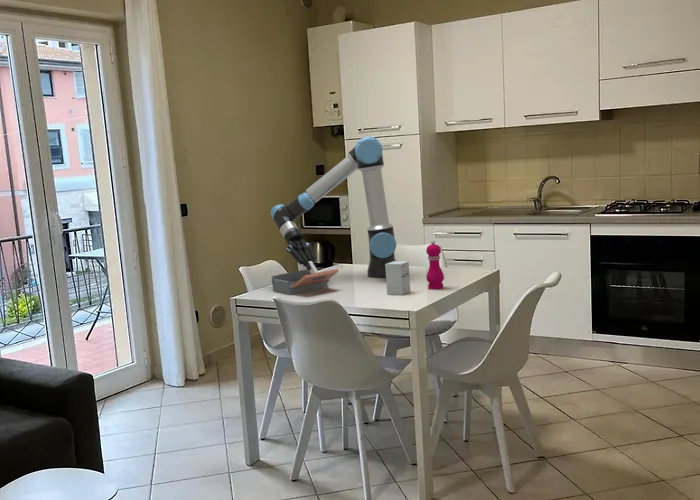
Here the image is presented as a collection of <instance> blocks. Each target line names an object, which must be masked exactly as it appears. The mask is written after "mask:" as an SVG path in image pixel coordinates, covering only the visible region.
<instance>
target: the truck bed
mask: <svg viewBox="0 0 700 500" xmlns="http://www.w3.org/2000/svg"><path fill="white" fill-rule="evenodd" d="M309 274H311V272H310V271H309V270H308V269H306V270H300V271H299V270H296V271H291V272H286V273H278V274H275V275H271V284H272V285H271V286H272V292H273V291H274V293H279V294H284V295H288V296H291V295H296V294H301V293H305V292H310V291H311V292H312V291H314V290H315V291H316V290H319V289H320V290H321V289H323V288H324V289H325V288H329V286H328V285H329V284H328V282H330V279H328V280H327V281H326V282H322V283H317V284H312V285H307V286H303V287H298V288H293V287H292V286H293V285H294V284H295V283H296V282H297V281H299V280H300V279H301V278H302V277H303V276H305V275H309Z"/></svg>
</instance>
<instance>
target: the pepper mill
mask: <svg viewBox="0 0 700 500" xmlns="http://www.w3.org/2000/svg"><path fill="white" fill-rule="evenodd" d="M441 252H442V249H441V246H440V245H439V244H436V240H433V239H432V240H431V242H430V244H429V245H428V246H427V247H426V254H427V255H428V256H427V258H428V261H429V267H428V271H427V272H426V281H427V282H428V284H427V285H428V286H427V289H428V290H431V289H437V290H442V289H444V283H443V282H444V280H445V276H444V272H443V271H442V270H443V269H441V265H440V260H441Z"/></svg>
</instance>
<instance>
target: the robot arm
mask: <svg viewBox="0 0 700 500" xmlns="http://www.w3.org/2000/svg"><path fill="white" fill-rule="evenodd" d="M384 166H385V163H384V158H383V146H382V143H381V142H380V140H379V139H377V138H376V137H373V136H365V137H364V136H363V137H361V138H360V139H359V140H358V141H357V142H356V143H355V145H354V147H353V148H352V149H351V150H350V151H348V153H347V156H346V157H345V158H344V159H342V160H341V161H340V162H339V163H337V164H336V165H335V166H334V167H333V168H331V169H330V170H329V171H328V172H327V173H325V174H324V175H322V177H320V178H319V179H318V180H316V181H315V182H314V183H312V185H310V186H309V187H308V188H307V189H305V190H304V191H303V192H301V194H299V195H298V196H296V197H295V198H294V199H293V200H292V201H290V202H289V203H287V204H286V205H284V204H283V203H282V204H281V203H280V204H277V205H275V206H273V207H272V208H271V210H270V216H271V217H272V220H273V222H274V224H275V225H276V227H277V228H278V231H279V232H280V233H281V235H282V237H283V238H284V240H285V242H286V244H287V247H286V248H285V251H286V252H287V253H289V254H290V255H291V256H292V257H293V258H294V260H295V261H296V262H297V264H298V263H299V264H300V265H302V264H304V265H303V266H306V268H307V269H308V270H309V271H310V272H311V274H314V273H319V271H318V269H317V265H316V263H315V260H317V258H316V254H315V252H314V249H313V243H312V242H311V241H310V242H307V241H306V239H304V237H303V234H302V233H301V230H299V227H298V226H297V225H296V223H295V220H296V219H298V218H299V217H300V216H302V215H303V214H305V213H306V212H308V211H310V210H311V209H312V208H313V207H314V206H315V204H316V203H317V202H319V201H320V200H321V199H323V198H324V197H325V196H326V195H327V194H329V193H330V192H331V191H332V190H334V189H335V188H336V187H337V186H339V185H340V184H341V183H342V182H344V180H346V179H347V178H348V177H350V176H351V175H352V174H353V173H355V172H357V170H359V171H360V172H361V174H362V181H363V188H364V194H365V201H366V207H367V213H368V214H367V215H368V220H369V226H368V227H367V235H368V247H369V262H368V263H369V264H368V267H367V272H366V273H367V276H368V278H369V277H370V278H386V268H385V264H387V263H390V262H393V261H397V260H396V258H395V251H396V248H397V240H396V239H395V232H394V226H393V224H392V223H390V221H389V214H388V207H387V201H386V200H387V199H386V193H385V185H384V180H383V173H382V170H383V167H384ZM300 260H301V261H300Z"/></svg>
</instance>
